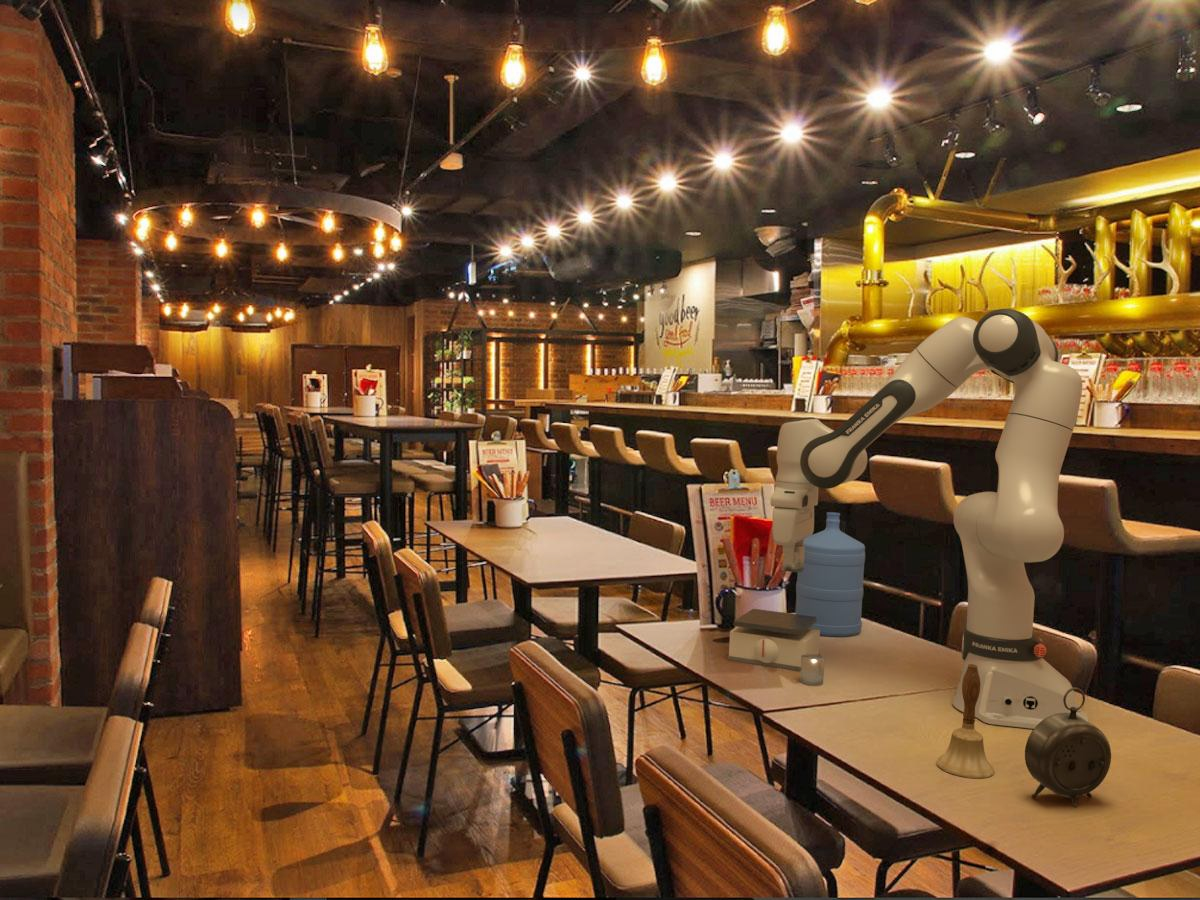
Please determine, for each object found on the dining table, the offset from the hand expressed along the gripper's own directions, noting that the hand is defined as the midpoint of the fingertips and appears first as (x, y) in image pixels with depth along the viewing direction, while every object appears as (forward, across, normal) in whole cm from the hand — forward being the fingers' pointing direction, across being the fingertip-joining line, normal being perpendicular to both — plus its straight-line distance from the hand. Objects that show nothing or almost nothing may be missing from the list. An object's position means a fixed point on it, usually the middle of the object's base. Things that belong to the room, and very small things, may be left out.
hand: (793, 561), depth 207 cm
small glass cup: (+21, +13, +8) cm, 26 cm away
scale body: (+21, 0, -3) cm, 21 cm away
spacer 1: (+2, 0, 0) cm, 2 cm away
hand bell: (+21, +45, +39) cm, 63 cm away
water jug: (+21, -33, +1) cm, 39 cm away
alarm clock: (+21, +51, +53) cm, 77 cm away
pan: (+14, 0, -3) cm, 15 cm away
